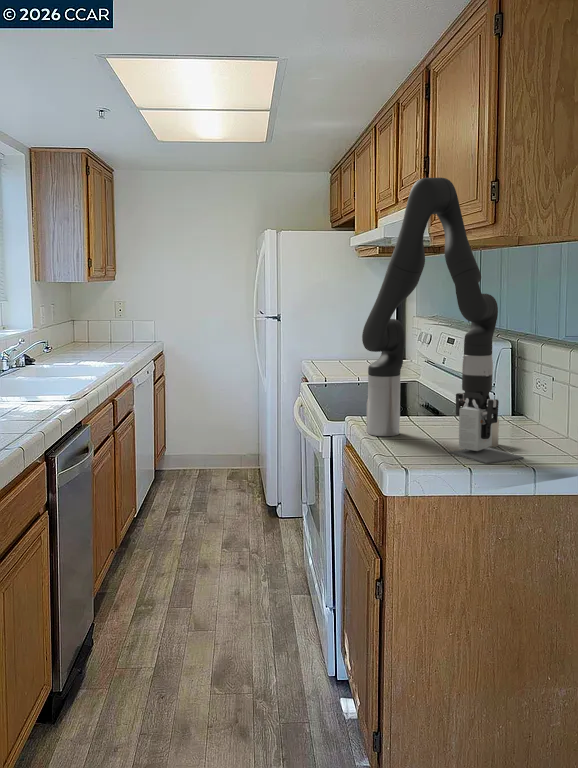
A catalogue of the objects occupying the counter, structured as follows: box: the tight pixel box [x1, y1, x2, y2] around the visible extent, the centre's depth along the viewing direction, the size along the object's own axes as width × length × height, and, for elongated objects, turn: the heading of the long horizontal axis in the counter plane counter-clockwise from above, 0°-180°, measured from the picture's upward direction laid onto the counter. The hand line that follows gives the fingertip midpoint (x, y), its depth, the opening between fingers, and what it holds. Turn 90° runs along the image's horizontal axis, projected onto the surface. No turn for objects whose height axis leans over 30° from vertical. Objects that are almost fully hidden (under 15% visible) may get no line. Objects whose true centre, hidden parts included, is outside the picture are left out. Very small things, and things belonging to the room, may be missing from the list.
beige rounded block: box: [489, 418, 500, 448], centre depth 210 cm, size 6×6×7 cm
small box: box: [458, 407, 493, 451], centre depth 200 cm, size 8×6×10 cm
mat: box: [449, 447, 524, 465], centre depth 197 cm, size 14×12×1 cm
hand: (475, 436), depth 200 cm, fingers closed on small box, 7 cm apart
